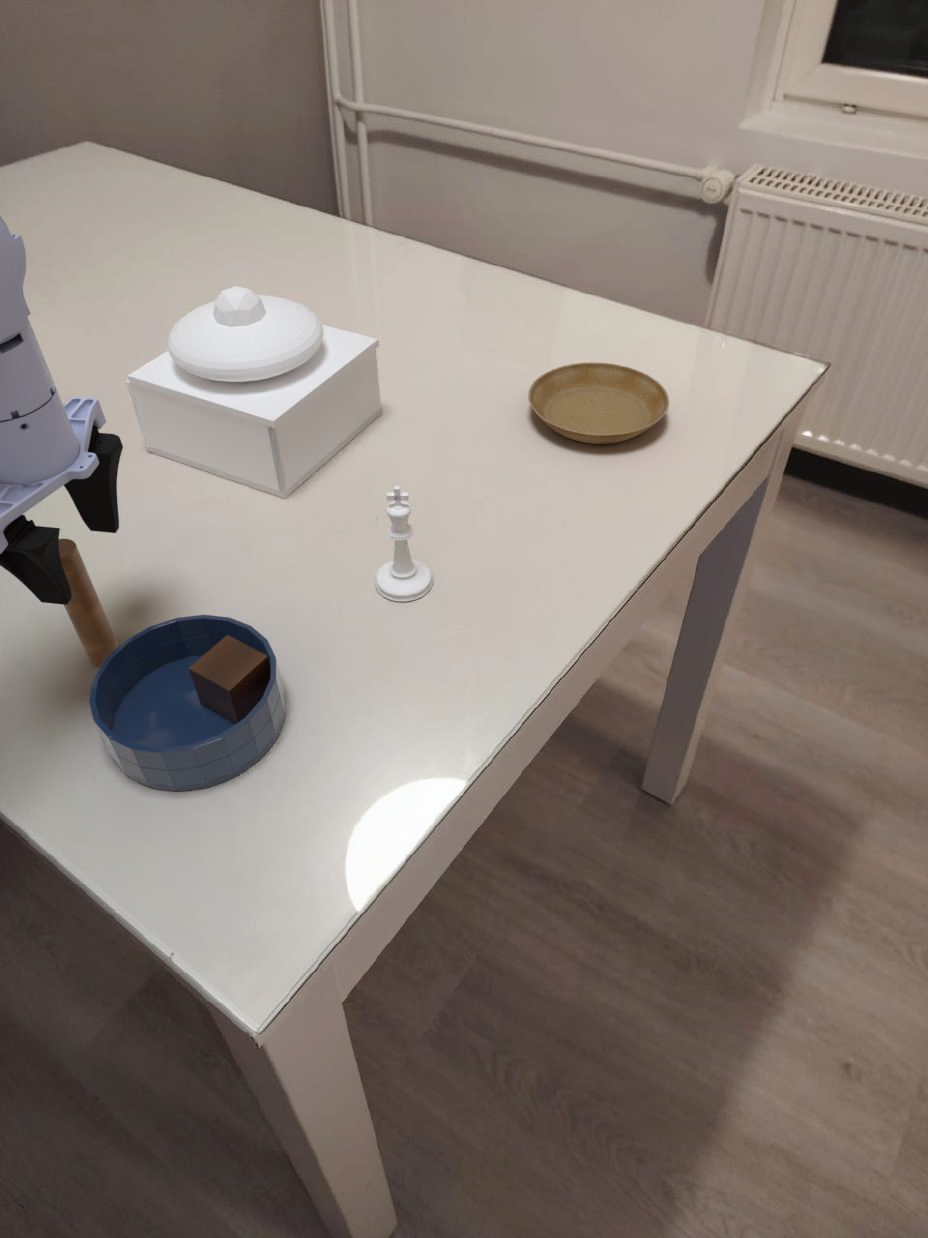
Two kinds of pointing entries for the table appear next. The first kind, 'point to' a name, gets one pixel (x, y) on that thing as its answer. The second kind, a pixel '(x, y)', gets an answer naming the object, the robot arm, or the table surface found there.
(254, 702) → the block
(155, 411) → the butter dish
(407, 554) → the chess piece
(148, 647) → the bowl
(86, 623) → the rod
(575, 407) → the plant saucer
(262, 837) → the table surface
